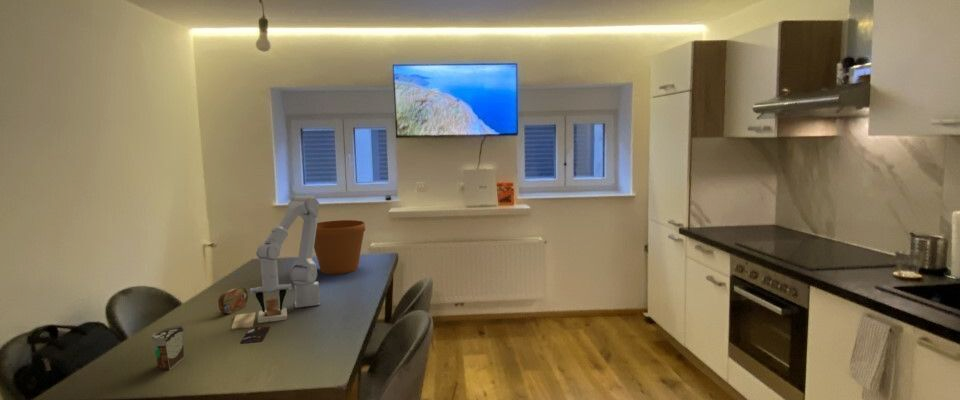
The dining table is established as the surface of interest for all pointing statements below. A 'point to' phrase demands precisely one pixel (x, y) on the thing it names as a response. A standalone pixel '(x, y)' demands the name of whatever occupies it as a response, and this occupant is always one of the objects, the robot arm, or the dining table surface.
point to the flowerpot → (339, 245)
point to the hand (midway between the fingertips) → (272, 310)
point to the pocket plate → (272, 318)
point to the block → (272, 306)
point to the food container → (168, 346)
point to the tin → (233, 300)
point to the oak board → (243, 321)
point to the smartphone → (255, 335)
